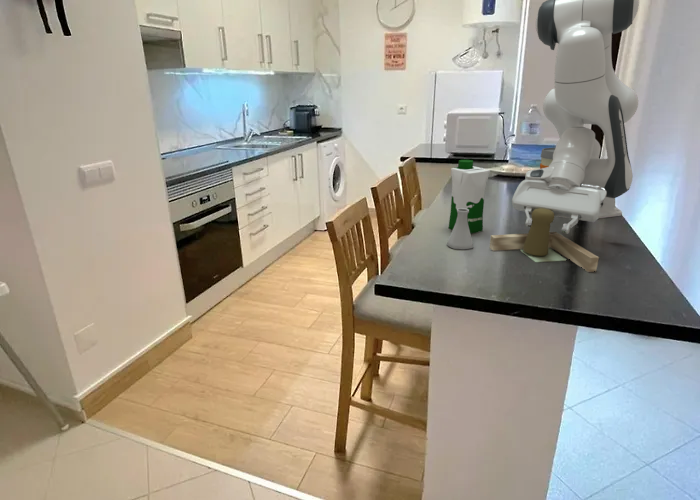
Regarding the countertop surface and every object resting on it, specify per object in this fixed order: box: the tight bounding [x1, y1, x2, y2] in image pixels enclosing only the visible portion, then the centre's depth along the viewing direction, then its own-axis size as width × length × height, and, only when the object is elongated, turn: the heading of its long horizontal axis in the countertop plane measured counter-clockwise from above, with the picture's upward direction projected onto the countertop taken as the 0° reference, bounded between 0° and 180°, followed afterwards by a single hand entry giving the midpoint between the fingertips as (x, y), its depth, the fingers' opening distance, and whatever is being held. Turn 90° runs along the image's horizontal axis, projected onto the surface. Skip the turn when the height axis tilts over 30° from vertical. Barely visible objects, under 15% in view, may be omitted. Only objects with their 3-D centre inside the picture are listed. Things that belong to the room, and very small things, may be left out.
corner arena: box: [489, 231, 600, 273], centre depth 110 cm, size 18×18×4 cm
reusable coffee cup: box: [539, 147, 556, 169], centre depth 174 cm, size 12×13×15 cm
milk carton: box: [447, 159, 491, 235], centre depth 128 cm, size 9×9×20 cm
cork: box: [522, 208, 555, 256], centre depth 111 cm, size 6×6×11 cm
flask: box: [446, 208, 474, 250], centre depth 118 cm, size 7×7×10 cm
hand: (546, 228), depth 110 cm, fingers open, 7 cm apart
